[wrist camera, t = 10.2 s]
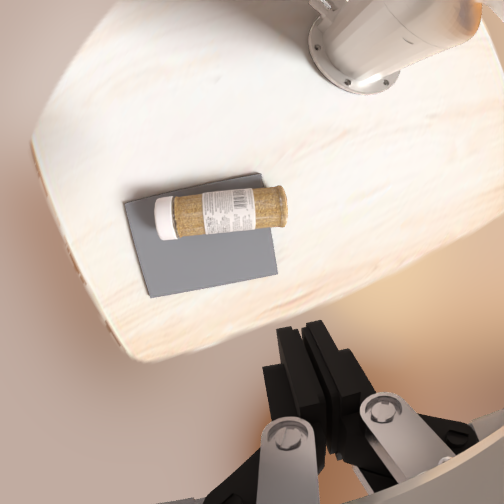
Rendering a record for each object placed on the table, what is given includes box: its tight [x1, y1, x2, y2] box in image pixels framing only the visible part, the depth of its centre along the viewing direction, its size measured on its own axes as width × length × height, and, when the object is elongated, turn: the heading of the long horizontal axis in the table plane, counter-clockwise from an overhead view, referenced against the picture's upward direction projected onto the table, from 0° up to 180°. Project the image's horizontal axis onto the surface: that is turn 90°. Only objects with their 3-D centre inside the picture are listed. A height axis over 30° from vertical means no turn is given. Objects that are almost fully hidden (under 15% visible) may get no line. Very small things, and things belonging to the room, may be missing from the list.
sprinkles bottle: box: [154, 186, 288, 240], centre depth 31 cm, size 5×5×14 cm
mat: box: [125, 174, 278, 298], centre depth 34 cm, size 16×12×1 cm
